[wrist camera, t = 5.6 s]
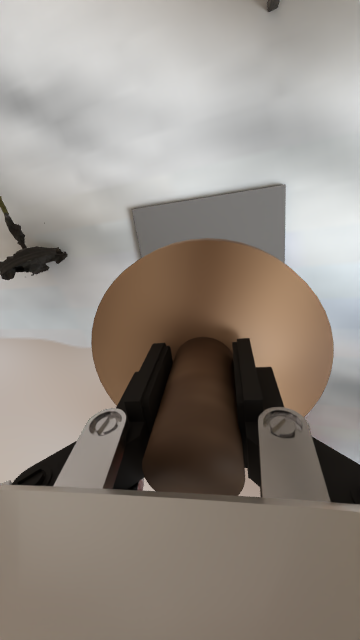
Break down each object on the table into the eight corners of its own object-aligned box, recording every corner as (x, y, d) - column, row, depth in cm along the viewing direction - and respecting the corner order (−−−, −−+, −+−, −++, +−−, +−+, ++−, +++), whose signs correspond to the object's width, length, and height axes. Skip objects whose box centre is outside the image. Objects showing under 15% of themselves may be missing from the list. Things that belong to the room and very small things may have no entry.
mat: (284, 184, 24) (285, 184, 24) (282, 328, 30) (283, 330, 30) (133, 209, 27) (131, 209, 27) (158, 336, 33) (157, 338, 32)
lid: (332, 218, 10) (501, 233, 4) (319, 435, 14) (391, 603, 8) (72, 257, 12) (-73, 304, 6) (127, 435, 16) (72, 568, 10)
